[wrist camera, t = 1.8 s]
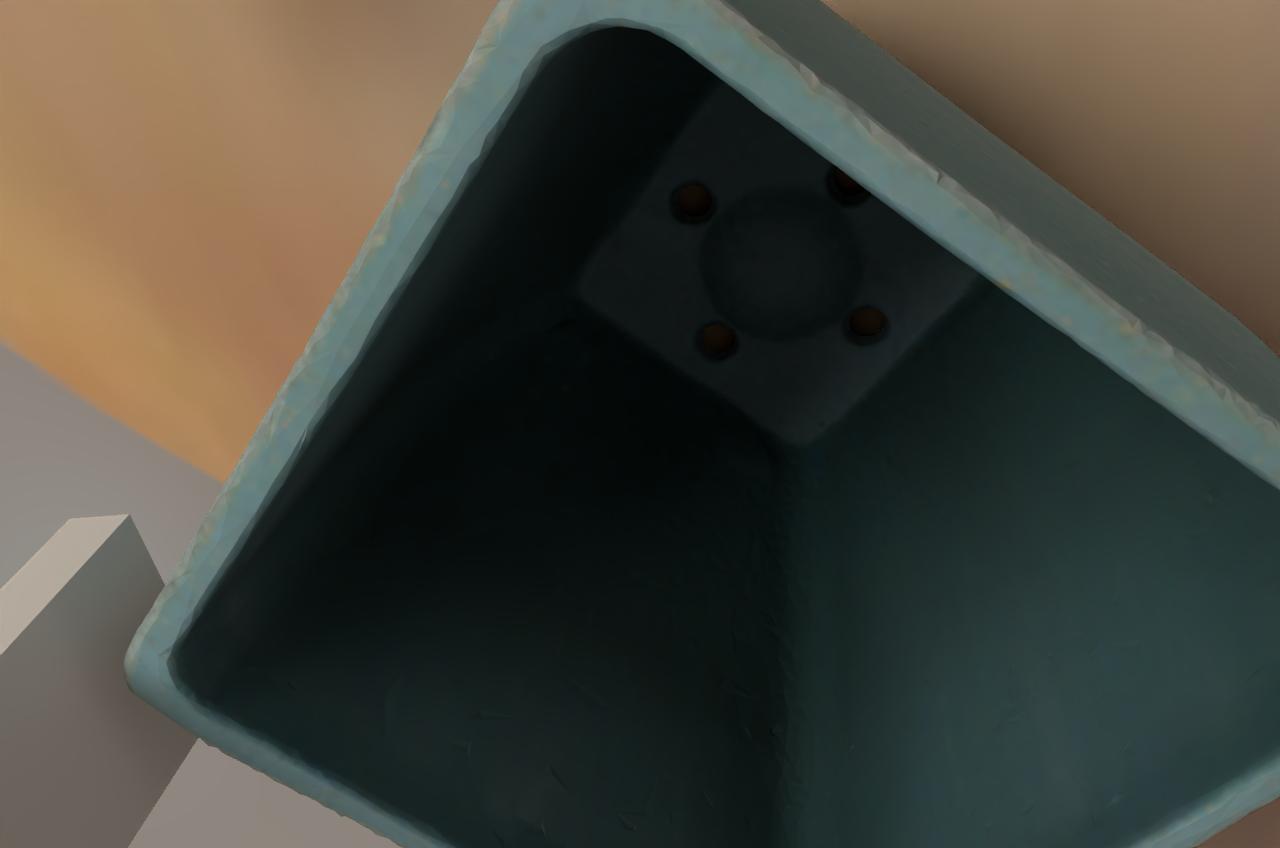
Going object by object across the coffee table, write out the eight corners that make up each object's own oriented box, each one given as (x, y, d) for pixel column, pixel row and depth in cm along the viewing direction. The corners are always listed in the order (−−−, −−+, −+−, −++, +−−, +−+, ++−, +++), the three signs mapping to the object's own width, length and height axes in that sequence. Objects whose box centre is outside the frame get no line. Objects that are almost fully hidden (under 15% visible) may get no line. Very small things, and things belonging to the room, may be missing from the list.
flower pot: (714, -219, 14) (558, -117, 7) (1236, 194, 16) (1579, 645, 8) (400, 294, 19) (97, 696, 11) (830, 572, 20) (816, 1084, 13)
